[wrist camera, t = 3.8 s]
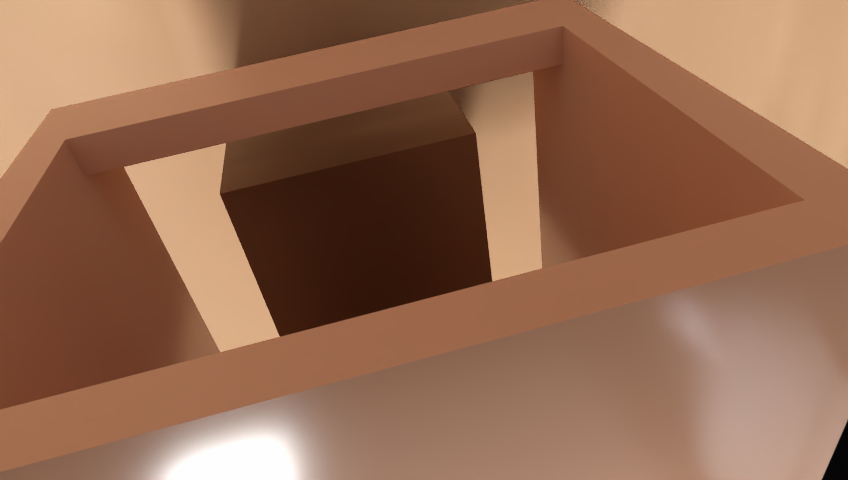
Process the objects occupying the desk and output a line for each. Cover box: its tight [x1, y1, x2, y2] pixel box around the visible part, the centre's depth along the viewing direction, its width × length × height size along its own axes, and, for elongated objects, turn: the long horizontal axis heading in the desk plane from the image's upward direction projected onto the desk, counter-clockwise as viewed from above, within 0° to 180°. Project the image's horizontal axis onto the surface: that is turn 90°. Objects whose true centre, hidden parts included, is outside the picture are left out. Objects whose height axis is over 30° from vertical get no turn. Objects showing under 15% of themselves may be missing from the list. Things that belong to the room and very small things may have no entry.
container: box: [0, 0, 848, 480], centre depth 8 cm, size 7×7×6 cm
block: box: [220, 91, 492, 337], centre depth 12 cm, size 4×4×4 cm
